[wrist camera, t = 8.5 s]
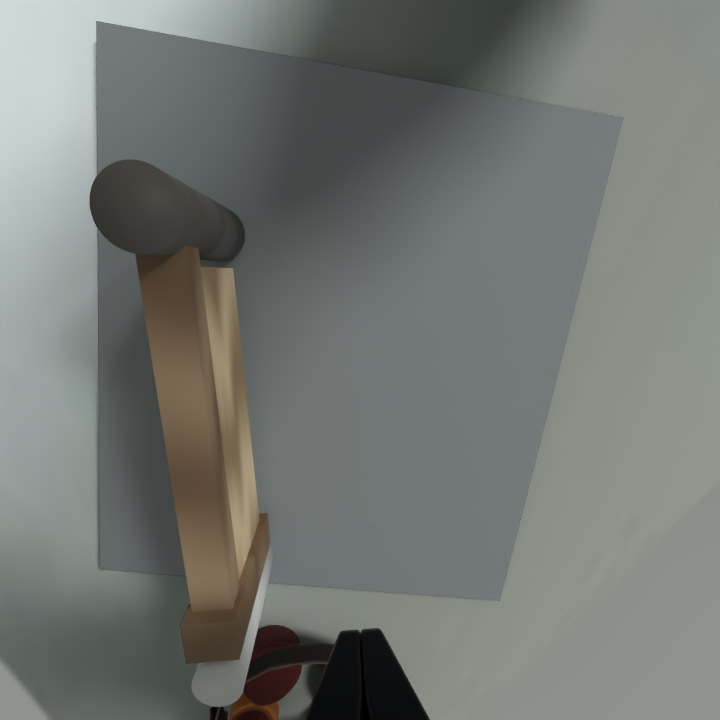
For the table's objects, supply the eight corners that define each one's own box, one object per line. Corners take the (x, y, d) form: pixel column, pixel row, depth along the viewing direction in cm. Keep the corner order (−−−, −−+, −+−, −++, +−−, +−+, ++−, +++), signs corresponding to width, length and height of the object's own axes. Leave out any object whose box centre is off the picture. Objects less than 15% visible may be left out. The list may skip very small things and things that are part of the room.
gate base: (106, 30, 15) (-91, -173, 8) (613, 122, 17) (803, 17, 10) (106, 560, 20) (-15, 708, 13) (495, 592, 22) (566, 739, 15)
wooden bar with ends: (187, 206, 16) (81, 160, 9) (242, 204, 16) (174, 158, 9) (229, 544, 19) (174, 678, 13) (274, 541, 19) (241, 673, 13)
